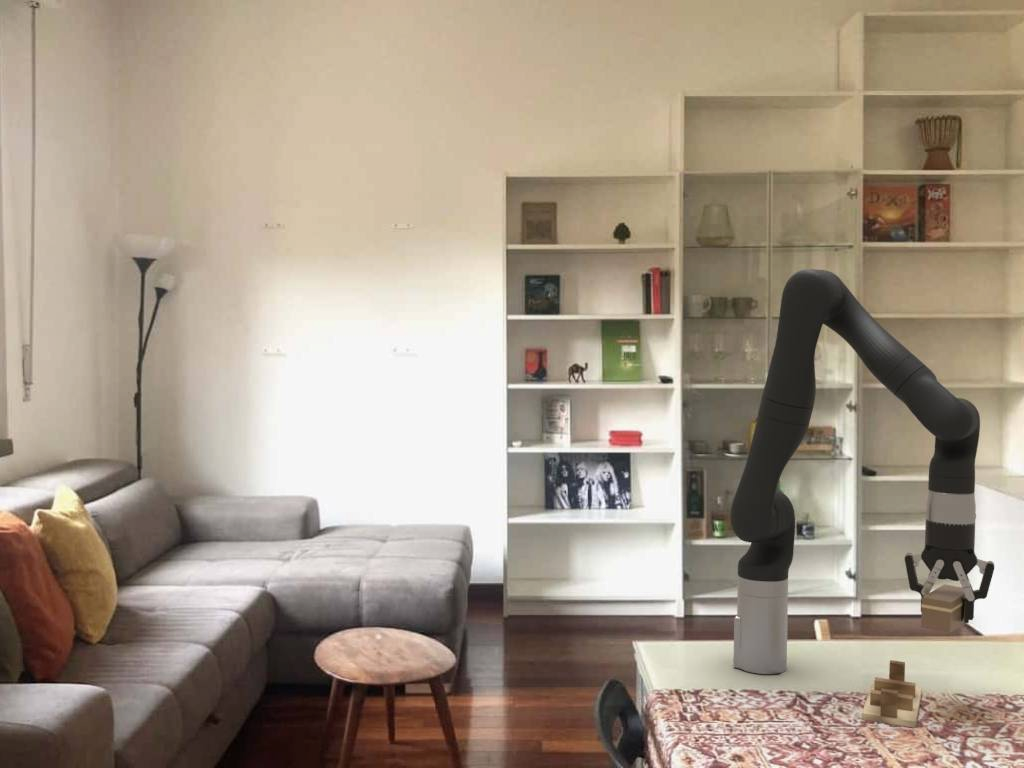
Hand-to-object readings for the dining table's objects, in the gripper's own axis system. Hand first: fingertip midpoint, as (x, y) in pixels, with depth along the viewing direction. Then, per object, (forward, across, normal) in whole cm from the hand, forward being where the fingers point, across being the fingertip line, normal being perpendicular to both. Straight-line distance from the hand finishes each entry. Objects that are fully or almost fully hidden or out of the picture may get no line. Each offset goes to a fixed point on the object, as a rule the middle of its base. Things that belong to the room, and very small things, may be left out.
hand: (946, 619), depth 162 cm
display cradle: (+15, -8, -3) cm, 17 cm away
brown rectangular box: (+1, 0, 0) cm, 1 cm away
